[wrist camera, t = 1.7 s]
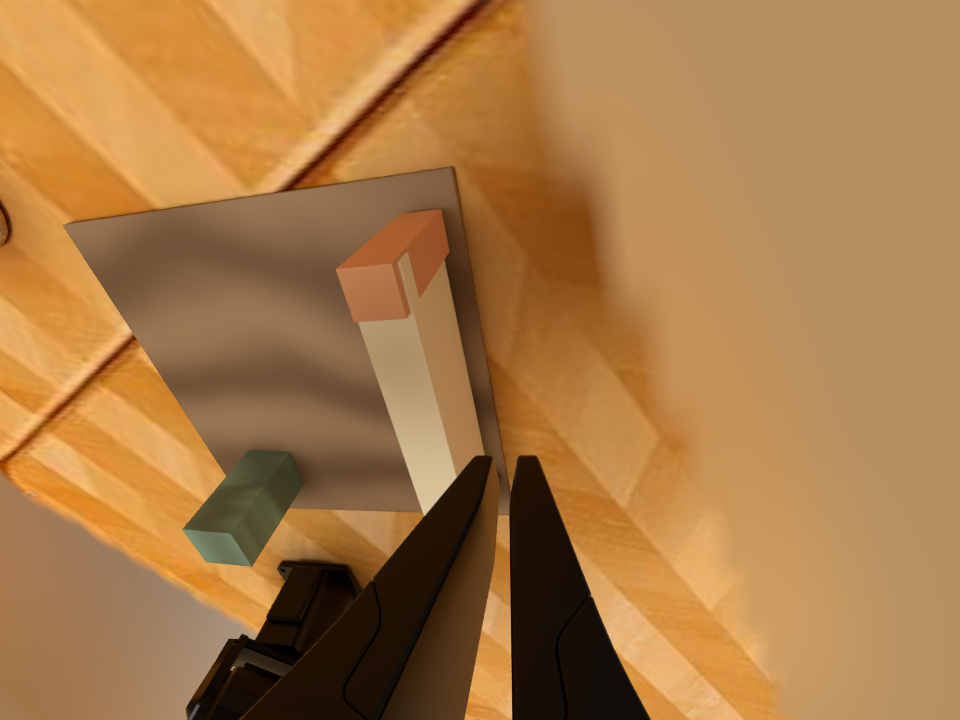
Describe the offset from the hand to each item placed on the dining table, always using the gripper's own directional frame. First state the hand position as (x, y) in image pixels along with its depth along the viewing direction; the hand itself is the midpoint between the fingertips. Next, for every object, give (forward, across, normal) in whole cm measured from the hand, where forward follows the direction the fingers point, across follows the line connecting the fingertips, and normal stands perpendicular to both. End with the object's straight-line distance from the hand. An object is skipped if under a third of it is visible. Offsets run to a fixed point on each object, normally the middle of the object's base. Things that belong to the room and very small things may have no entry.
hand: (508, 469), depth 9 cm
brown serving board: (+12, +13, +6) cm, 19 cm away
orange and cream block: (+11, +5, +4) cm, 13 cm away
